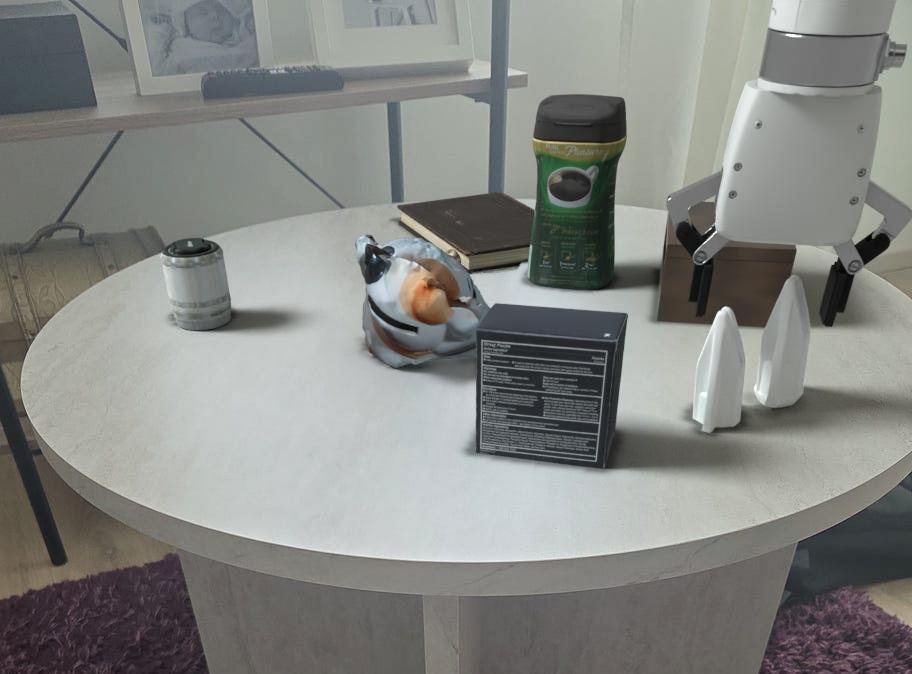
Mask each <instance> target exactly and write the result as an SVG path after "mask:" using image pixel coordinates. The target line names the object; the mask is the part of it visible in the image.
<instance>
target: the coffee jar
mask: <svg viewBox="0 0 912 674" xmlns="http://www.w3.org/2000/svg"><path fill="white" fill-rule="evenodd" d="M534 122H535V123H534V128H533V134H532V135H533V136H532V149H533V154H534V157H535V160H536V191H535V205H534V210H535V212H534V221H533V228H532V236H531V243H530V251H529V259H528V261H527V279H528V281H529V282H530V283H531V284H532V285H534V286H538V287H545V288H553V289H560V290H561V289H563V290H575V291H596V290H599V289H602V288H604V287H607V286H608V285H609V284H610V283H611V281H612V280H613V277H614V273H615V258H616V255H615V254H616V238H615V237H616V236H615V235H616V233H615V232H616V231H615V230H616V229H615V226H616V225H615V221H616V220H615V212H616V211H615V209H616V208H615V207H616V205H615V204H616V186H617V173H618V165H619V162H620V159H621V156H622V155H623V152H624V150H625V148H626V145H627V144H626V143H627V138H628V134H627V133H628V132H627V129H628V128H627V107H626V101H625V99H624V98H623V97H622V96H612V95H601V94H589V93H587V94H586V93H584V94H582V93H568V94H552V95H551V94H550V95H548V96H547V97H545V98H543V99H542V100H541V101H540V102H539V103H538V107H537V111H536V116H535V121H534Z"/></svg>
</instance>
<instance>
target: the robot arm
mask: <svg viewBox="0 0 912 674" xmlns="http://www.w3.org/2000/svg"><path fill="white" fill-rule="evenodd" d="M896 3H897V0H772V4H771V10H770V15H769V20H768V25H767V27H768V28H767V29H766V35H765V40H764V45H763V51H762V57H761V61H760V66H759V71H758V77H757V79H752V80H748V81H746V82H745V84H744V87H743V90H742V92H741V95H740V98H739V100H738V103H737V105H736V110H735V113H734V116H733V119H732V123H731V127H730V130H729V134H728V138H727V143H726V146H725V150H724V155H723V159H722V164H721V167H720V171H717V172H715V173H713V174H711V175H709V176H706V177H704V178H702V179H700V180H698V181H695V182H694V183H691V184H689V185H687V186H685V187H682V188H681V189H678V190H676V191H674V192H672V193H669V195H668V196H667V198H666V205H665V206H666V209H667V213H668V212H669V215H670V218H671V221H672V224H673V227H674V230H675V233H676V237H677V239H678V240H679V241H680V243H681V244H682V245H683V246H684V248H685V249H686V250H687V252H688V253H689V254H690V256H691V257H692V258H693V261H694V266H693V271H692V277H691V283H690V289H689V295H688V302H692V303H695V317H699V318H702V316H705V313H706V307H707V302H708V297H709V292H710V286H711V281H712V276H713V270H714V263H713V256H714V255H715V254H716V253H717V252H718V251H719V250H720V249H721V248H722V247H723V246H724V245H725V244H727V243H728V242H729V241H730V240H733V241H741V242H755V243H771V244H789V245H796V246H809V247H833V250H834V251H835V253H836V255H837V260H836V261H834V263H833V264H831V266H830V268H829V272H828V276H827V280H826V283H825V286H824V291H823V295H822V298H821V303H820V306H819V311H818V313H819V318H820V320H821V324H822V325H824V327H827V328H833V326H834V324H835V321H836V316H837V313H840V314H843V313H845V311H846V307H847V304H848V300H849V297H850V293H851V289H852V287H853V282H854V279H855V275H858V274H859V273H860V272H861V271H862V270H863V269H864V266H866V265H867V264H869V263H870V262H872V261H873V260H875V259H876V258H877V257H879V256H881V254H883V253H884V252H885V251H887V250H888V249H889V247H890V245H891V243H892V242H893V241H894V239H896V238H897V237H898V236H899V234H900V233H901V232H902V231H903V230H904V229H905V228H906V226H908V224H909V223H910V222H911V220H912V209H911V207H910V206H909V205H908V204H907V203H905V202H904V201H902V200H901V199H899V198H898V197H897V196H895V195H893V194H892V193H890V192H889V191H887V190H886V189H885V188H883V187H882V186H880V185H878V184H877V183H876V182H875V181H873V180H871V174H872V169H873V164H874V159H875V153H876V147H877V141H878V135H879V129H880V123H881V122H880V121H881V113H882V101H883V100H882V99H883V89H882V86H880V85H877V84H875V82H877V81H878V80H879V77H880V74H883V72H884V71H889V70H890V68H892V69H893V68H894V69H895V68H896V69H897V68H899V69H901V68H902V67H903V65H904V61H905V60H906V57H907V56H906V55H907V52H908V51H907V50H908V44H906V43H903V44H902V43H897V42H896V41H892V39H891V38H890V34H889V33H888V31H889V30H890V26H891V21H892V18H893V15H894V11H895V7H896ZM714 197H715V198H714ZM712 198H714V201H713V202H714V210H713V216H714V219H716V220H715V222H714V223H713V224H712V225H711V226H710V227H709V228H708V229H707V230H706V231H705V232H704V233H703V234H702V235H701V234H700V233H699V232H698V230H697V229H696V228H695V226H694V225H693V224H692V222H691V221H690V218H689V214H688V210H689V208H690V207H692V206H694V205H696V204H698V203H700V202H706V201H707V200H709V199H712ZM865 205H867V206H869V207H870V208H872V209H873V210H875V211H876V212H878V213H879V214H881V215H882V216H883V220H882V221H881V222H880V223H879V226H878V227H877V228H876V229H875V230H873V231H872V232H871V233H869V234H867V235H866V236H865V237H864V238H862V239H861V240H860V241H858V242H857V243H854V241H853V238H854V237H855V234H856V233H857V231H858V230H857V229H858V228H859V224H860V222H861V218H862V214H863V210H864V206H865Z"/></svg>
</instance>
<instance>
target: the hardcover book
mask: <svg viewBox="0 0 912 674" xmlns="http://www.w3.org/2000/svg"><path fill="white" fill-rule="evenodd" d="M396 208H397V209H398V210H399V211H400V220H397V224H398V225H400V226H401V227H403V228H404V229H405V230H407V231H408V232H409V233H411V234H412V235H413V236H415V238H421V239H423V240H424V241H426V242H430V243H431V244H434V245H435V246H437V247H438V248H439V249H442V250H443V251H444V252H446V251H448V250H450V249H454V250H456V251H457V252H458V254H459V255H460V258H461V265H462V266H463V267H464V268H465V270H466V271H467V272H468V273H469V274H474V273H481V272H487V271H492V270H499V269H507V268H513V267H519V266H521V264H522V261H527V260H529V251H530V243H531V236H532V228H533V221H534V212H535V208H532V207H530V206H528V205H527V204H525V203H523V202H521V201H519V200H517V199H516V198H514V197H512V196H510V195H508V194H506V193H504V192H503V191H496V192H489V193H481V194H480V193H479V194H474V195H467V196H466V195H465V196H458V197H449V198H444V199H435V200H429V201H420V202H412V203H405V204H398V205H396Z"/></svg>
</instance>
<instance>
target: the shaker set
mask: <svg viewBox="0 0 912 674" xmlns="http://www.w3.org/2000/svg"><path fill="white" fill-rule="evenodd" d="M807 302H808V301H807V297H806V294H805V289H804V285H803V282H802V279H801V277H800V276H799V275H797V274H791V277H790V278H789V279H787V280H786V282H785V284H784V286H783V289H782V291H781V293H780V295H779V297H778V300H777V302H776V304H775V306H774V308H773V311H772V313H771V315H770V318H769V320H768V322H767V325H766V327H764V329H763V332H762V335H761V336H762V337H761V341H760V350H759V358H758V366H757V376H756V383H755V384H754V387H753V392H754V395H755V396H756V398H757V400H758V401H759V403H760V404H762V405H764V406H765V407H767V408H769V409H770V408H771V409H782V408H786V407H791V406H793V405H794V404H795V403H796V402H798V401H799V399H800V398H801V397H802V396H803V394H804V389H805V388H804V380H805V374H806V367H807V361H808V353H809V346H810V338H811V328H812V327H811V321H810V320H811V319H810V314H809V307H808V303H807ZM742 340H743V339H742V336H741V332H740V329H739V326H738V325H737V321H736V318H735V315H734V312H733V310H732V309H731V308H730V307H723V308H722V309H721V311H718V313H717V315H716V317H715V319H714V322H713V324H711V327H710V329H709V332H708V334H707V337H706V339H705V341H704V344H703V347H702V350H701V352H700V354H699V357H698V360H697V362H696V368H695V376H694V390H693V405H692V420H695V421H697V422H698V423H699V424H702V428H701V431H702V432H705V433H709V434H711V433H712V432H714V429H715V428H730V427H731V428H734V427H735V426H737V425H738V424H740V423H741V419H742V418H741V417H742V405H743V397H744V396H743V395H744V384H745V372H746V355H745V350H744V345H743V341H742Z"/></svg>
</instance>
